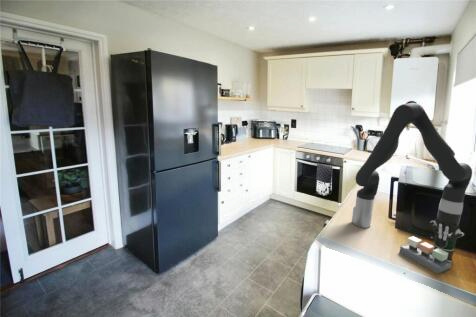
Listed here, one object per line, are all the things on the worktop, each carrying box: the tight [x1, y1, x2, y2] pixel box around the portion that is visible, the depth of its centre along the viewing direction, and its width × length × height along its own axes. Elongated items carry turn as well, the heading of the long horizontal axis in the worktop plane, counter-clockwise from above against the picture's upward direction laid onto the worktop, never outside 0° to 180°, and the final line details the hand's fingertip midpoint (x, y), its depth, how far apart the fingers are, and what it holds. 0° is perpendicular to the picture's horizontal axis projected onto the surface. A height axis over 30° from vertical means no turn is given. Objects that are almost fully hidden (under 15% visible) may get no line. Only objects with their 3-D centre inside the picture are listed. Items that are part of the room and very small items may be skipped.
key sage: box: [432, 248, 448, 261], centre depth 113 cm, size 4×4×3 cm
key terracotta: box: [419, 241, 435, 254], centre depth 118 cm, size 4×4×3 cm
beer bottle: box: [432, 228, 458, 260], centre depth 120 cm, size 8×8×24 cm
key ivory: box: [406, 235, 423, 248], centre depth 123 cm, size 4×4×3 cm
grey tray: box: [399, 244, 452, 274], centre depth 118 cm, size 17×9×5 cm, turn 25°
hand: (442, 246), depth 112 cm, fingers closed
